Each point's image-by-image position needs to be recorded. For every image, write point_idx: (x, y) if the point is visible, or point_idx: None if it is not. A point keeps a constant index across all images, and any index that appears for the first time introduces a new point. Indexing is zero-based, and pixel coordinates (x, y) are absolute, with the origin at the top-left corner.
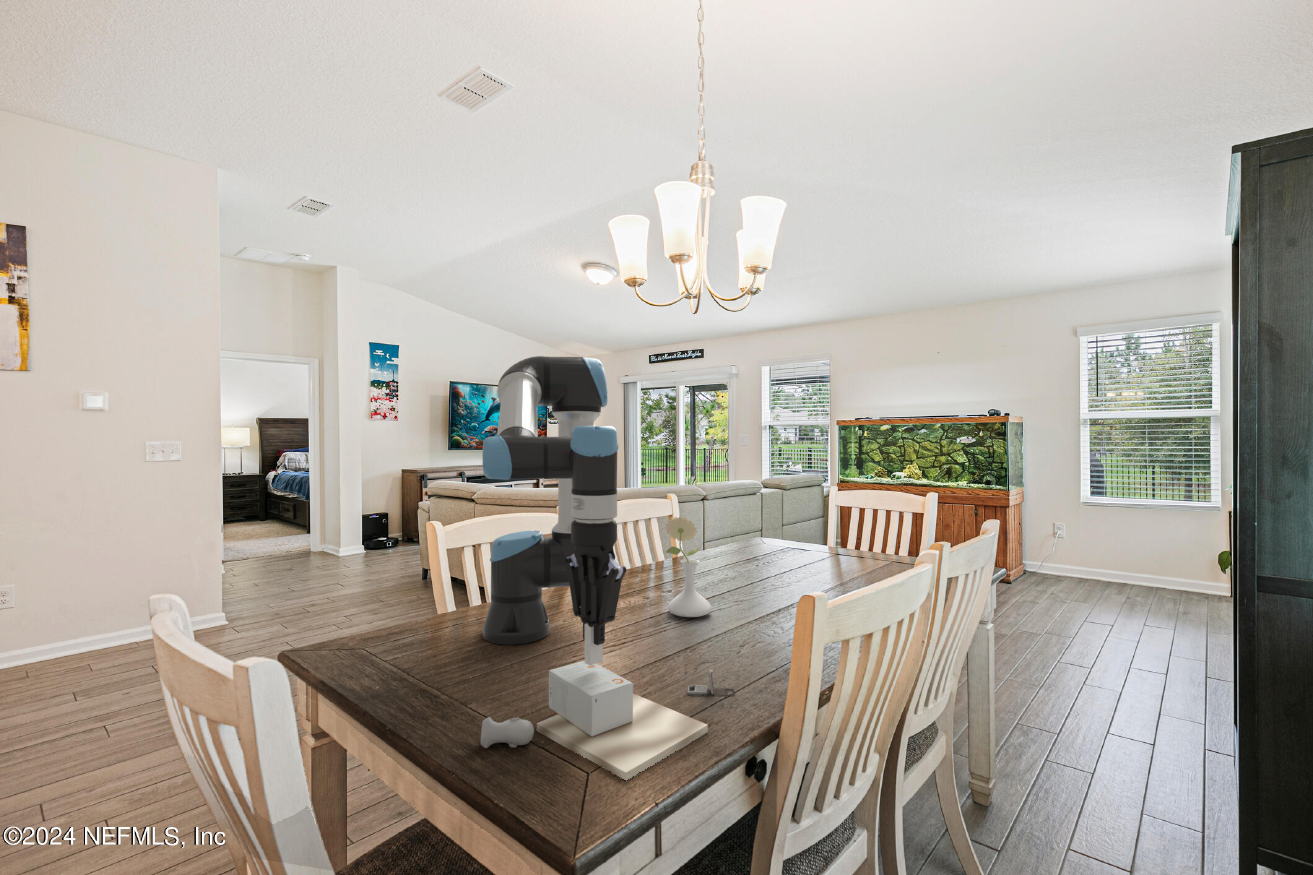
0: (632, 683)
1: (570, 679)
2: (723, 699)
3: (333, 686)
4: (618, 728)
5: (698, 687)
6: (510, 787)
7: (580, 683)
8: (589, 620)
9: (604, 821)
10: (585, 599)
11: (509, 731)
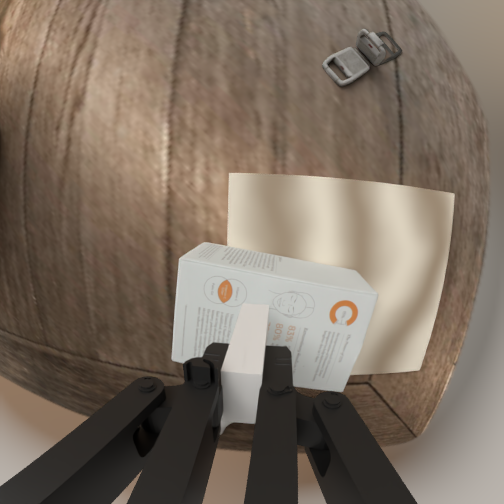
0: (377, 296)
1: None
2: (398, 71)
3: (15, 383)
4: None
5: (345, 61)
6: None
7: None
8: (221, 408)
9: (422, 409)
10: (202, 495)
11: None
